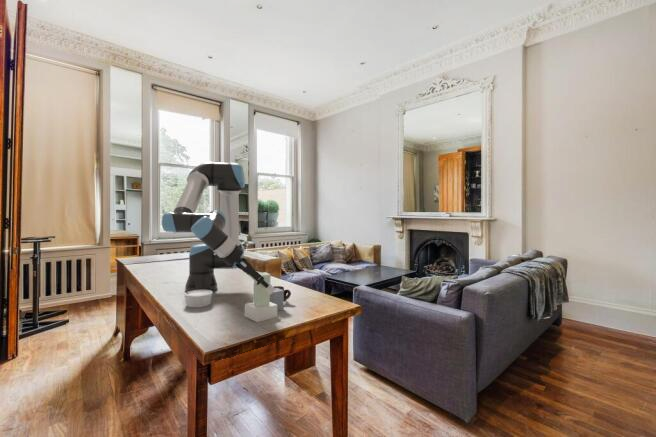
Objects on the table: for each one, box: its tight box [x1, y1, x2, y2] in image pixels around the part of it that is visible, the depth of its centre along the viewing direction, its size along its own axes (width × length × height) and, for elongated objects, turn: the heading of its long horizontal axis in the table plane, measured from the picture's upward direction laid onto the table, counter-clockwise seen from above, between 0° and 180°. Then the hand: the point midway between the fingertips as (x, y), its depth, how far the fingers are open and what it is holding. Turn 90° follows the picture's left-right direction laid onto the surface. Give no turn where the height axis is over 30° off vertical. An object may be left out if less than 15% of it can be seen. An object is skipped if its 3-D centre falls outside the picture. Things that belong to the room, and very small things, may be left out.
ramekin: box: [184, 289, 214, 309], centre depth 130 cm, size 11×11×5 cm
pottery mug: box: [273, 285, 292, 303], centre depth 137 cm, size 12×10×8 cm
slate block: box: [270, 288, 285, 312], centre depth 127 cm, size 5×5×8 cm
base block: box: [244, 301, 278, 323], centre depth 118 cm, size 9×9×5 cm
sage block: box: [252, 272, 272, 307], centre depth 118 cm, size 5×5×12 cm
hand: (267, 287), depth 119 cm, fingers open, 13 cm apart
